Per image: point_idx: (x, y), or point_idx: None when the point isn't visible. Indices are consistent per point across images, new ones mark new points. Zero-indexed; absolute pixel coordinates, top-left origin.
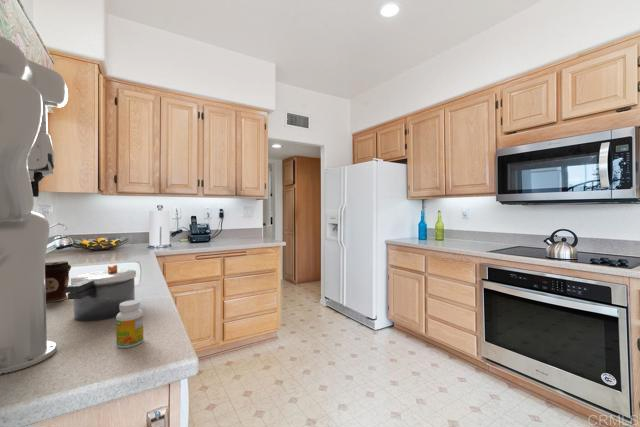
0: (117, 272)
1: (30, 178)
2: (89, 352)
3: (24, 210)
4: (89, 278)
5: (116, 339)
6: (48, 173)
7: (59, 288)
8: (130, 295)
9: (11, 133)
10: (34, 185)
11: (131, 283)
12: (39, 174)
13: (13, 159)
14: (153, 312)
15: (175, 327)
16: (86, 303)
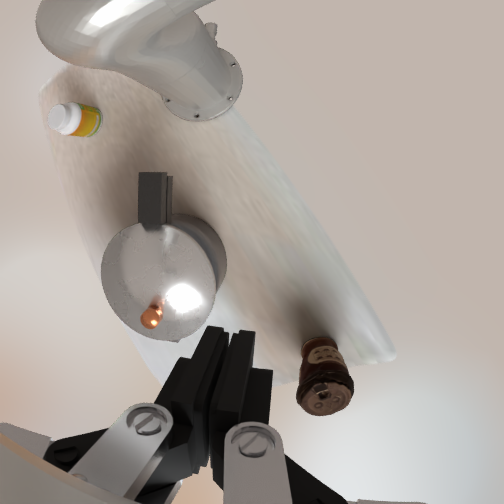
0: (142, 306)
1: (145, 428)
2: (125, 98)
3: None
4: (166, 257)
5: (96, 111)
6: (3, 426)
7: (307, 357)
8: None
9: None
10: (160, 396)
11: None
12: (59, 444)
13: None
14: (103, 238)
15: (59, 169)
16: (174, 219)
